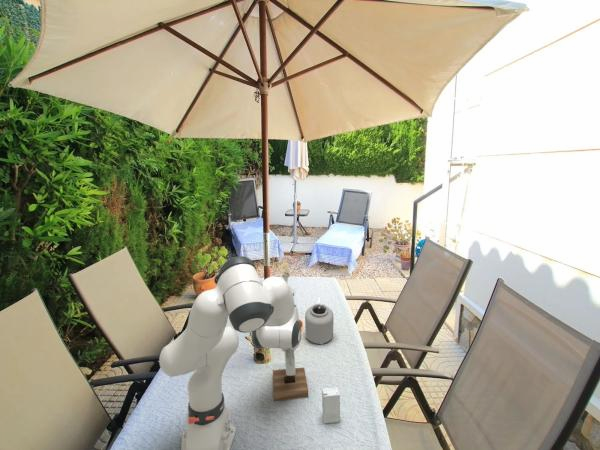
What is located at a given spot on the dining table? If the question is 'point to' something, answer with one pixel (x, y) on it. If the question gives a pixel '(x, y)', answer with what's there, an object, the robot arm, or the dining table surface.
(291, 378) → the peg
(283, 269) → the flower in vase
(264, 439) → the dining table surface
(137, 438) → the dining table surface
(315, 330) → the jar
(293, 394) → the socket block
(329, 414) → the skincare box
